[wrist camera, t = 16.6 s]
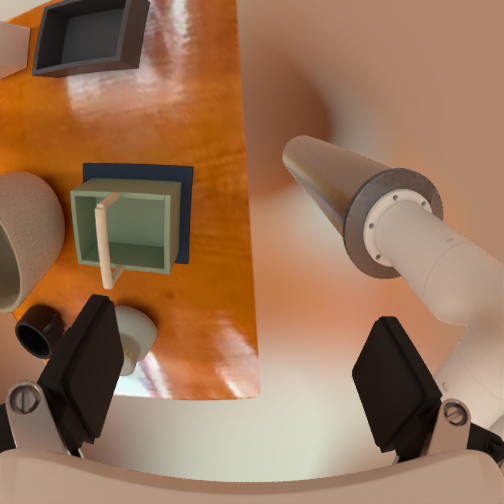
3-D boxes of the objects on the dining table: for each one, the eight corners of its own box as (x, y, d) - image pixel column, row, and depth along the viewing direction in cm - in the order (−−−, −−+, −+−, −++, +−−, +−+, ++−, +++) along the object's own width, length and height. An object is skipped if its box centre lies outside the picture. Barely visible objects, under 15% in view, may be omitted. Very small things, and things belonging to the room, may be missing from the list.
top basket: (181, 181, 37) (159, 210, 26) (178, 251, 41) (161, 298, 31) (92, 177, 36) (47, 203, 25) (96, 243, 40) (60, 284, 30)
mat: (193, 166, 36) (192, 167, 36) (188, 263, 43) (188, 264, 42) (83, 163, 35) (82, 163, 35) (90, 253, 41) (89, 254, 41)
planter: (72, 156, 34) (3, 185, 21) (86, 263, 42) (40, 322, 28) (-3, 167, 33) (-65, 196, 20) (15, 258, 41) (-33, 305, 27)
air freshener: (122, 290, 44) (101, 330, 35) (165, 315, 47) (153, 359, 38) (102, 329, 48) (84, 368, 39) (141, 351, 50) (128, 392, 41)
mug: (54, 341, 49) (40, 364, 43) (25, 310, 46) (8, 332, 40) (82, 321, 47) (67, 347, 41) (49, 286, 43) (31, 309, 37)
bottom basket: (150, 2, 26) (135, -15, 20) (138, 68, 30) (120, 61, 24) (68, 16, 24) (44, 6, 19) (57, 77, 29) (31, 75, 23)
